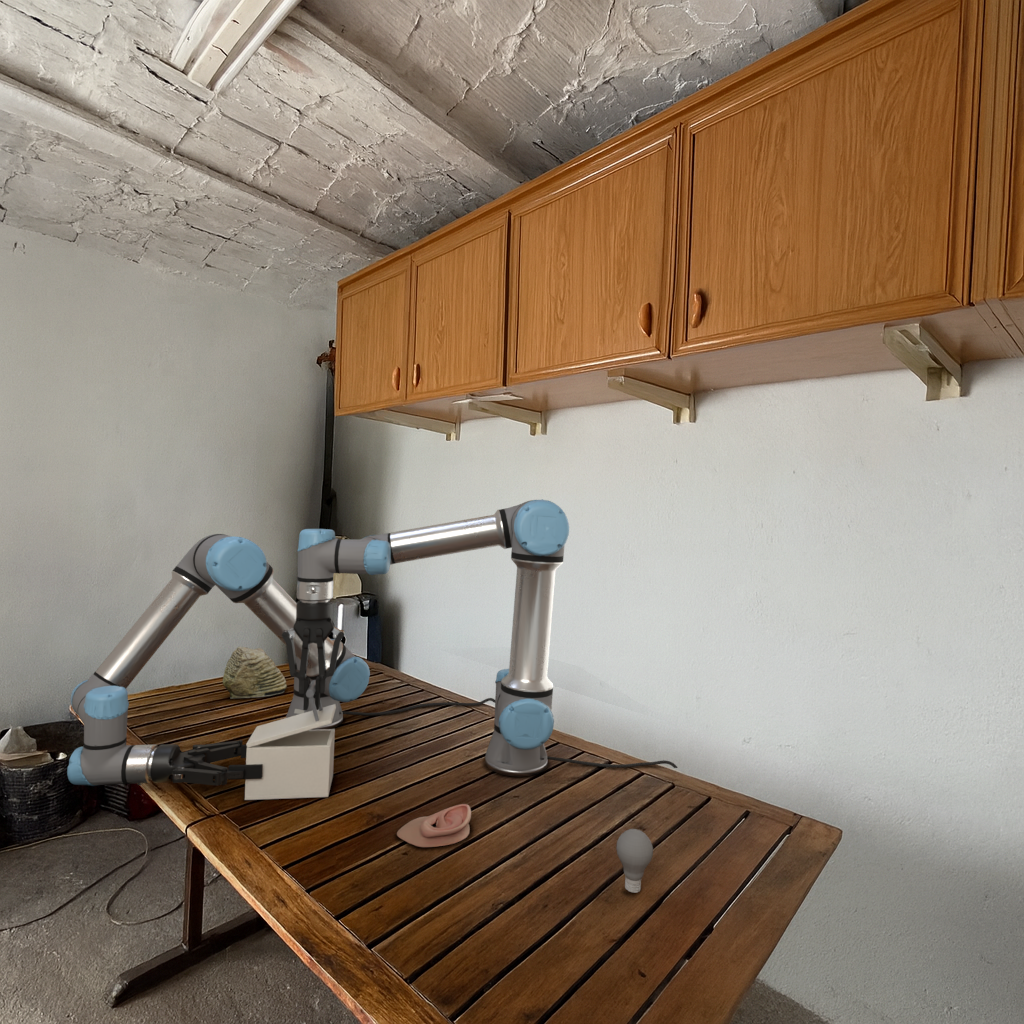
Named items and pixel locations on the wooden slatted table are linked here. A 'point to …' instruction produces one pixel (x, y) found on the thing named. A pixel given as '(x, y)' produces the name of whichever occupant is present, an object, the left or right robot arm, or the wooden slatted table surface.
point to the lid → (294, 722)
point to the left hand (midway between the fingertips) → (267, 760)
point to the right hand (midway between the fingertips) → (311, 707)
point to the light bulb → (634, 857)
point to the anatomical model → (438, 827)
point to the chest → (293, 766)
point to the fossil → (252, 674)
